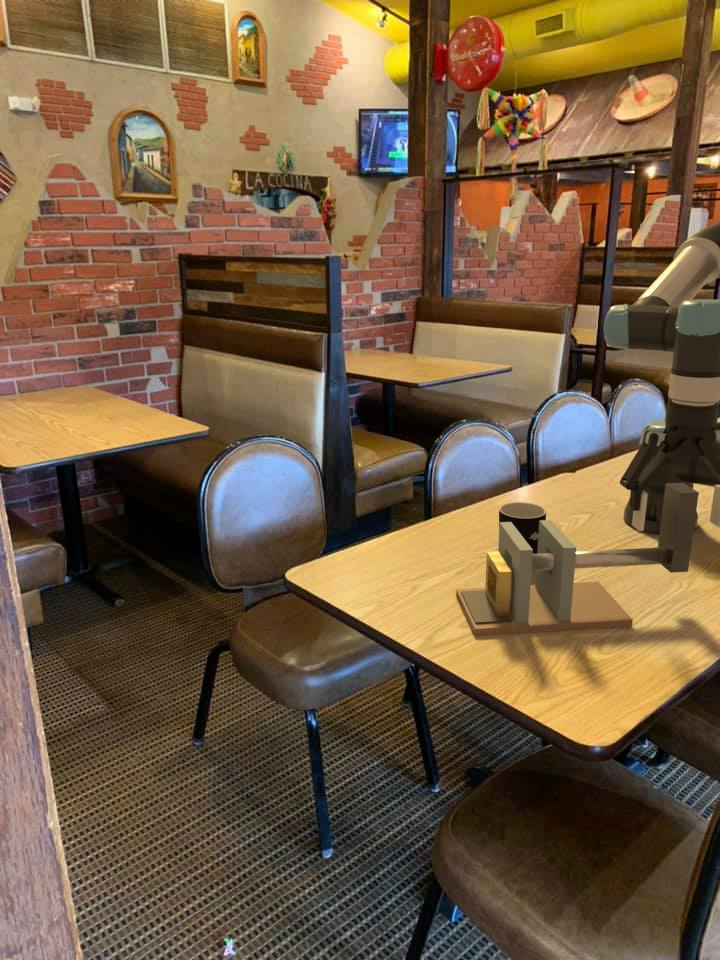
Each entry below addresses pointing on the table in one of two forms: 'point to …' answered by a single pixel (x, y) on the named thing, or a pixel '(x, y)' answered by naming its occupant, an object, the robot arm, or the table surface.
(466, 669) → the table surface
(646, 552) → the shaft
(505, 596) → the ring
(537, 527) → the mug
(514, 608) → the bearing block
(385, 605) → the table surface
